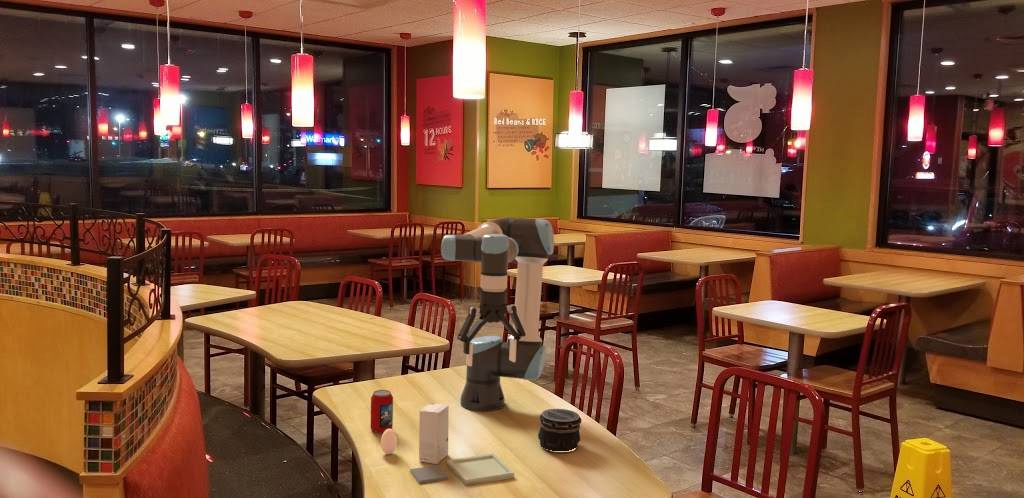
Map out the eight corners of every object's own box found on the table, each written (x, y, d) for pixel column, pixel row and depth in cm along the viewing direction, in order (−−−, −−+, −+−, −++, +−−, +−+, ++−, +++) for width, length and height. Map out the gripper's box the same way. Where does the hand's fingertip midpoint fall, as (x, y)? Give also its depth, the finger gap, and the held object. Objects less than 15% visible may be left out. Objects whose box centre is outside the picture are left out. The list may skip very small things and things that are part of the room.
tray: (493, 458, 226) (493, 453, 226) (514, 477, 213) (514, 472, 213) (447, 465, 220) (447, 459, 220) (465, 485, 207) (465, 479, 207)
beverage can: (388, 435, 241) (388, 396, 239) (367, 432, 242) (367, 394, 240) (395, 427, 247) (396, 390, 246) (375, 425, 249) (375, 388, 247)
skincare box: (437, 465, 220) (438, 413, 218) (417, 461, 221) (418, 410, 220) (448, 454, 228) (450, 404, 226) (429, 451, 229) (430, 401, 227)
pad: (438, 467, 218) (438, 465, 218) (448, 479, 211) (448, 476, 211) (410, 471, 215) (410, 469, 214) (419, 483, 207) (419, 480, 207)
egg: (389, 458, 223) (390, 433, 222) (377, 454, 226) (377, 429, 225) (400, 453, 227) (400, 428, 226) (388, 449, 229) (388, 424, 229)
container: (584, 442, 241) (586, 410, 239) (573, 457, 229) (575, 424, 227) (544, 435, 245) (545, 404, 243) (531, 450, 233) (533, 418, 231)
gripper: (526, 285, 231) (523, 356, 234) (447, 289, 220) (445, 363, 223) (538, 289, 225) (535, 362, 227) (457, 293, 214) (455, 370, 216)
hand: (490, 363), depth 225 cm, fingers open, 13 cm apart
